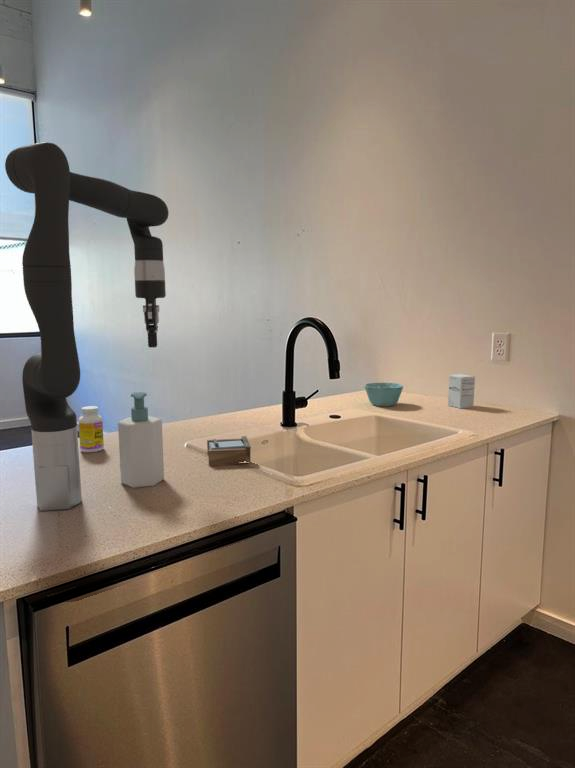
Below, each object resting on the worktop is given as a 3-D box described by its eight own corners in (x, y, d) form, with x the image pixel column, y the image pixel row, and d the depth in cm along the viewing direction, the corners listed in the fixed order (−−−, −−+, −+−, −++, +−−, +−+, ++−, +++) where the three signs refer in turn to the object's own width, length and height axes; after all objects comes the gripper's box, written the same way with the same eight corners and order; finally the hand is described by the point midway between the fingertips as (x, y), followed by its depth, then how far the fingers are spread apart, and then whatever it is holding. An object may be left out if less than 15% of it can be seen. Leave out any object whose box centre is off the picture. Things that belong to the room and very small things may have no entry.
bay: (250, 463, 156) (250, 446, 156) (208, 465, 155) (208, 449, 154) (246, 451, 168) (246, 436, 167) (207, 453, 166) (207, 437, 165)
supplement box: (447, 405, 234) (448, 374, 232) (461, 404, 237) (462, 373, 235) (459, 408, 227) (461, 377, 225) (474, 407, 230) (475, 375, 228)
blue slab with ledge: (244, 461, 159) (244, 442, 158) (212, 464, 157) (211, 444, 156) (241, 455, 165) (240, 436, 164) (209, 457, 163) (209, 439, 162)
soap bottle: (121, 489, 136) (116, 397, 133) (121, 477, 145) (116, 391, 142) (165, 485, 139) (161, 395, 136) (163, 473, 148) (159, 389, 144)
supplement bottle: (96, 453, 167) (94, 410, 165) (75, 452, 168) (73, 409, 166) (108, 447, 173) (105, 405, 171) (88, 446, 174) (85, 404, 172)
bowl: (357, 402, 242) (358, 382, 240) (391, 400, 246) (392, 381, 245) (374, 409, 227) (374, 388, 226) (409, 407, 232) (410, 386, 230)
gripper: (163, 278, 141) (166, 349, 143) (166, 279, 153) (168, 344, 156) (132, 278, 139) (135, 350, 142) (137, 279, 152) (140, 345, 155)
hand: (152, 347), depth 149 cm, fingers closed
